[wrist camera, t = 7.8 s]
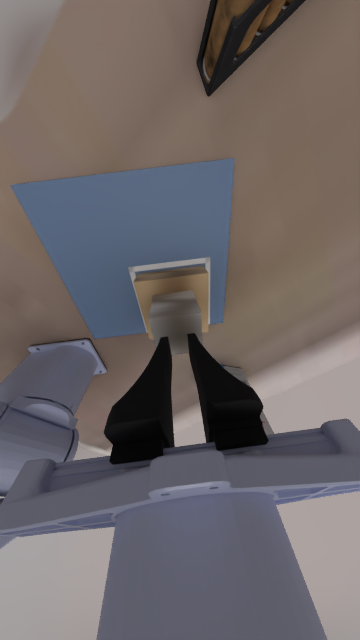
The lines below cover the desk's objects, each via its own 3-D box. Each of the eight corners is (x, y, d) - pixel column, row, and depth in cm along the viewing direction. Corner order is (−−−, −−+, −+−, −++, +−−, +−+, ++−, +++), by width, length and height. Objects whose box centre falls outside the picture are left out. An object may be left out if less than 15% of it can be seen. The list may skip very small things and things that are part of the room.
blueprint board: (95, 336, 24) (94, 339, 23) (14, 186, 14) (9, 184, 13) (222, 320, 24) (223, 323, 24) (232, 159, 14) (234, 157, 13)
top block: (159, 327, 19) (158, 356, 15) (152, 295, 17) (148, 319, 13) (194, 322, 20) (202, 350, 15) (192, 289, 17) (201, 312, 13)
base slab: (151, 326, 23) (149, 339, 20) (137, 273, 19) (133, 282, 16) (203, 319, 23) (208, 331, 21) (202, 265, 19) (208, 272, 16)
